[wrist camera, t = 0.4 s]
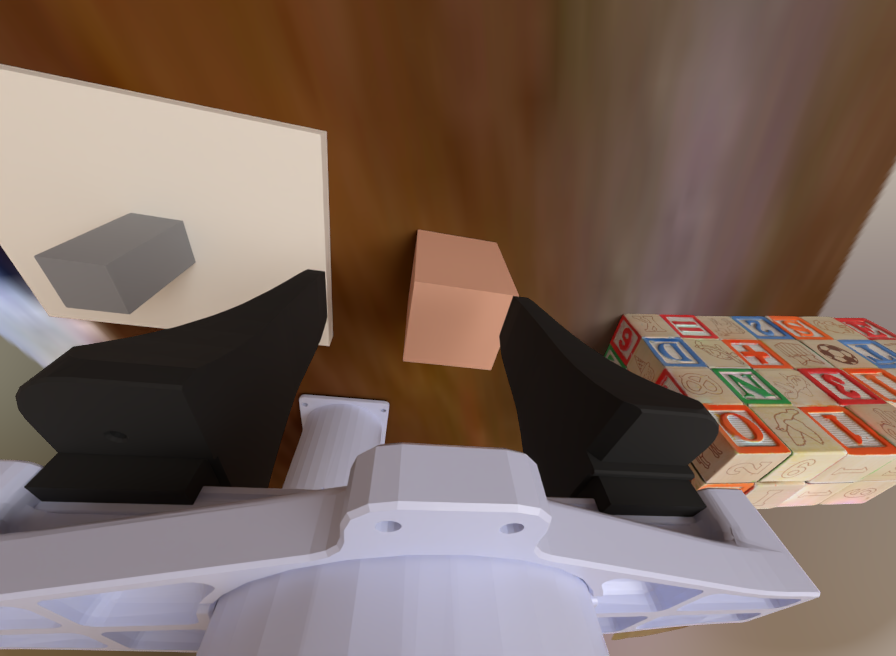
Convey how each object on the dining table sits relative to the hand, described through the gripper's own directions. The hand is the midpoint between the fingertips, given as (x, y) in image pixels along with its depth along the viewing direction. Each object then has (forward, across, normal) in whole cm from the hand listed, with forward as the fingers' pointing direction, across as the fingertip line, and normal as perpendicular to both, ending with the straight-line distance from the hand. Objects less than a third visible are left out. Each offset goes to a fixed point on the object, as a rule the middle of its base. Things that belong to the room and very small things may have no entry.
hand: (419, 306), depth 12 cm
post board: (+10, +15, +3) cm, 18 cm away
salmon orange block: (+10, -2, +3) cm, 10 cm away
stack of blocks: (+10, -27, +6) cm, 30 cm away
